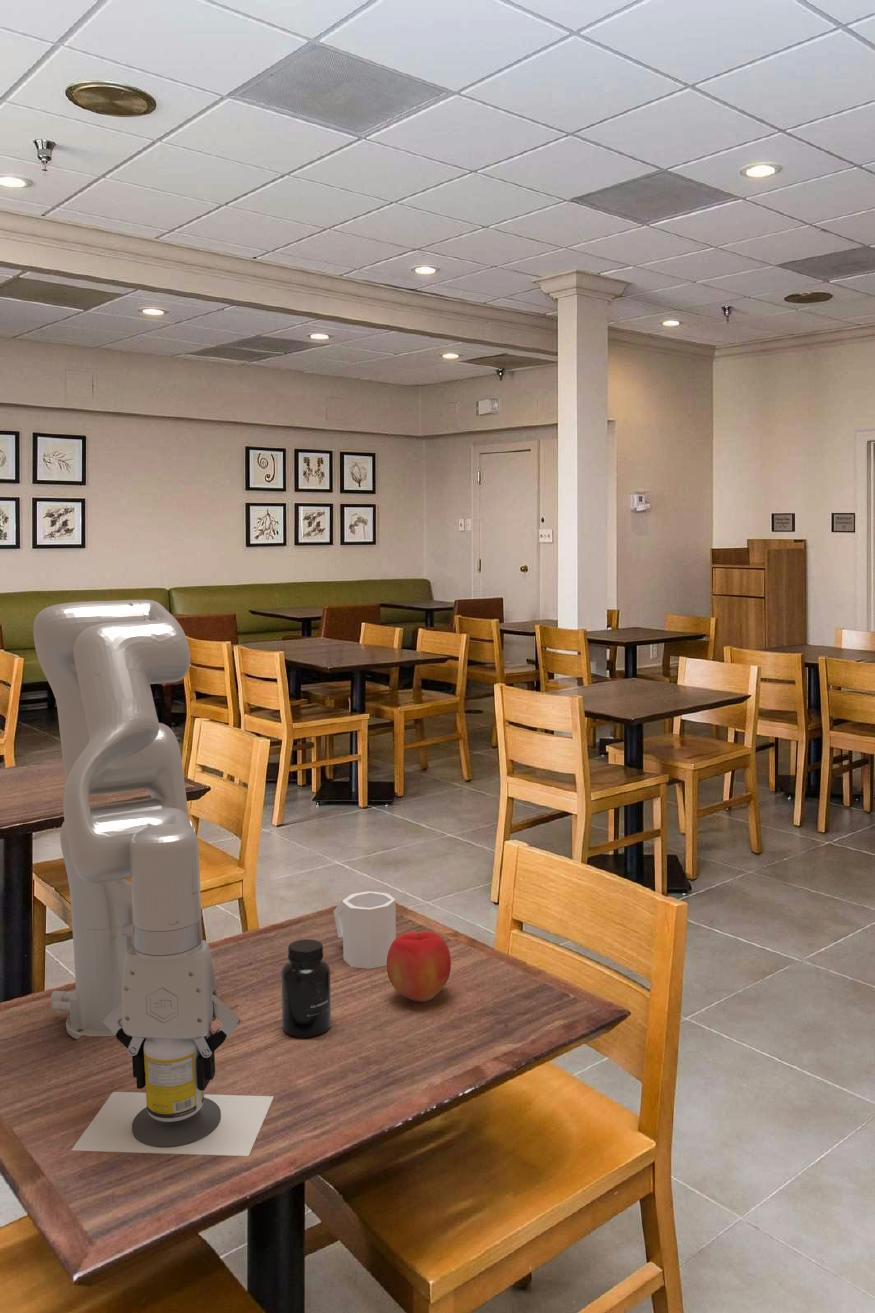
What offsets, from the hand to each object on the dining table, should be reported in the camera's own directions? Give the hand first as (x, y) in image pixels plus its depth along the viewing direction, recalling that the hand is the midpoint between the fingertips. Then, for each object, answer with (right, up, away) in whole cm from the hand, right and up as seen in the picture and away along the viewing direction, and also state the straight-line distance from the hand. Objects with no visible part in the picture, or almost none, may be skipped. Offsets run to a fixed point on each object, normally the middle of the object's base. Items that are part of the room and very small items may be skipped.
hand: (174, 1082), depth 118 cm
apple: (+28, -2, +34) cm, 44 cm away
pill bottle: (0, -3, 0) cm, 3 cm away
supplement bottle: (+12, -3, +26) cm, 28 cm away
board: (0, -6, +1) cm, 6 cm away
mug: (+18, 0, +50) cm, 53 cm away
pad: (0, -5, 0) cm, 5 cm away
